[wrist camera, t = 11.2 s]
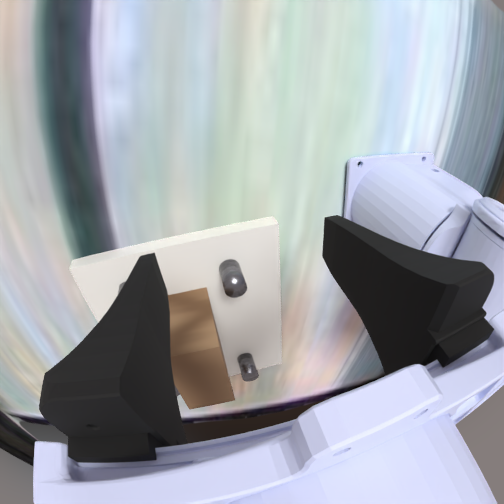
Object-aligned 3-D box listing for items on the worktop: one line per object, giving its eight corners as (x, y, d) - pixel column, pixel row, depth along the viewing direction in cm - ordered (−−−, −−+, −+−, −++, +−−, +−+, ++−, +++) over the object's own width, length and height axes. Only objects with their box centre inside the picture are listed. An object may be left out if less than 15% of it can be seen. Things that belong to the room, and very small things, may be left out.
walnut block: (206, 287, 24) (219, 346, 19) (221, 347, 28) (235, 400, 24) (157, 297, 23) (160, 358, 18) (181, 355, 28) (189, 409, 23)
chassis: (273, 216, 23) (290, 241, 20) (278, 355, 33) (289, 380, 30) (72, 259, 20) (61, 290, 18) (144, 383, 31) (145, 410, 28)
